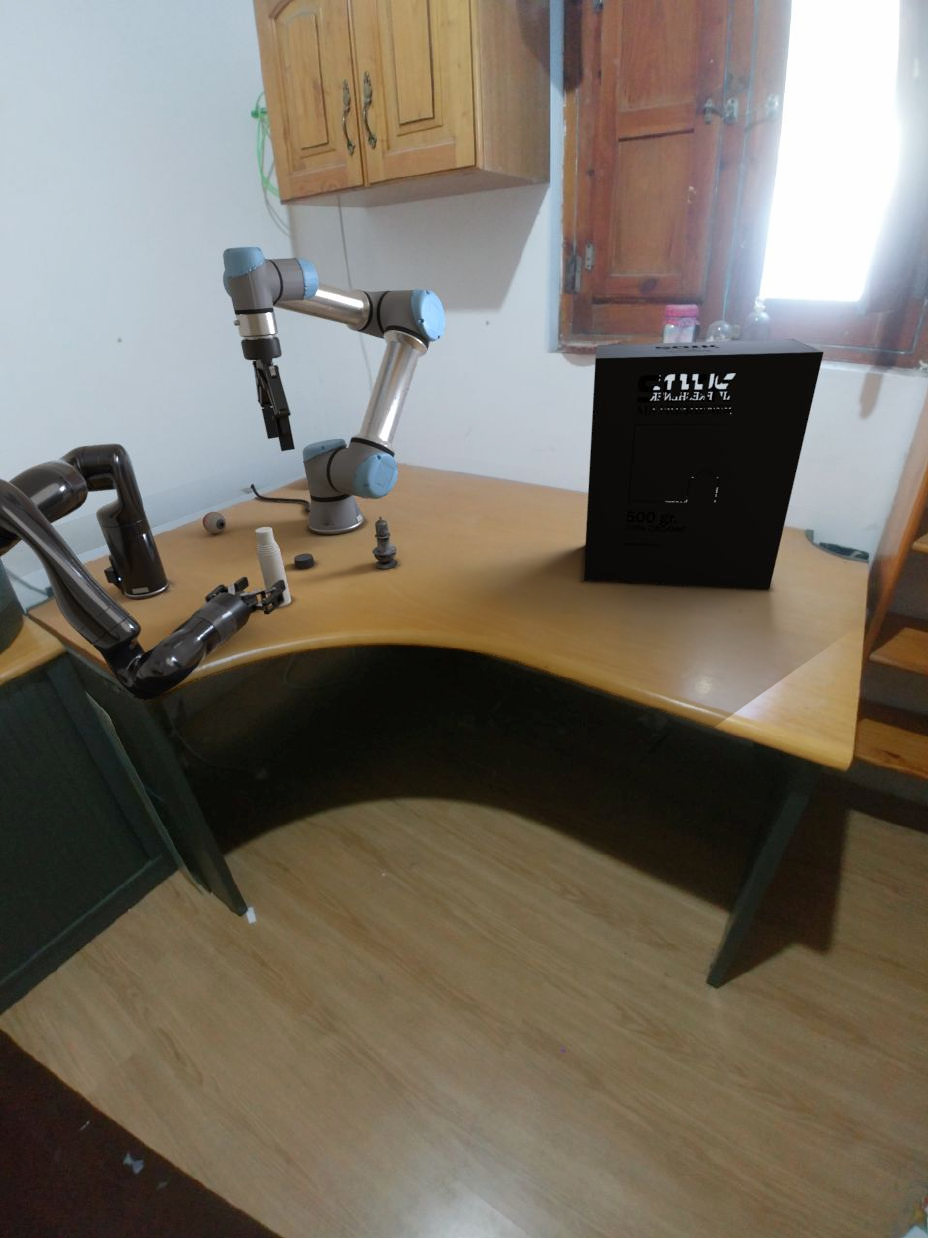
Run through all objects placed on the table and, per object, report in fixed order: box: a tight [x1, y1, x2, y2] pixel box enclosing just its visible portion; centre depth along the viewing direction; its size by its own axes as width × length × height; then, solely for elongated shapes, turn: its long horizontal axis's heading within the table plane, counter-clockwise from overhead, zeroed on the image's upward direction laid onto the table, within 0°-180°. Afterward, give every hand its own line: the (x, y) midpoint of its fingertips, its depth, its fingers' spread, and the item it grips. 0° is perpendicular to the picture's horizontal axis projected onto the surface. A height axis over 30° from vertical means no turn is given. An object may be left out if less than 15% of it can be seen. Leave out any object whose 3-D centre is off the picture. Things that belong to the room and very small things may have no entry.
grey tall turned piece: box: [371, 516, 398, 570], centre depth 142 cm, size 6×6×12 cm
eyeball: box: [202, 511, 227, 535], centre depth 167 cm, size 6×6×6 cm
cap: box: [293, 552, 315, 570], centre depth 146 cm, size 4×5×2 cm
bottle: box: [254, 526, 292, 608], centre depth 126 cm, size 5×5×17 cm
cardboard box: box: [583, 338, 824, 590], centre depth 125 cm, size 38×20×45 cm, turn 78°
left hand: (264, 582), depth 124 cm, fingers open, 8 cm apart
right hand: (280, 443), depth 132 cm, fingers open, 13 cm apart
